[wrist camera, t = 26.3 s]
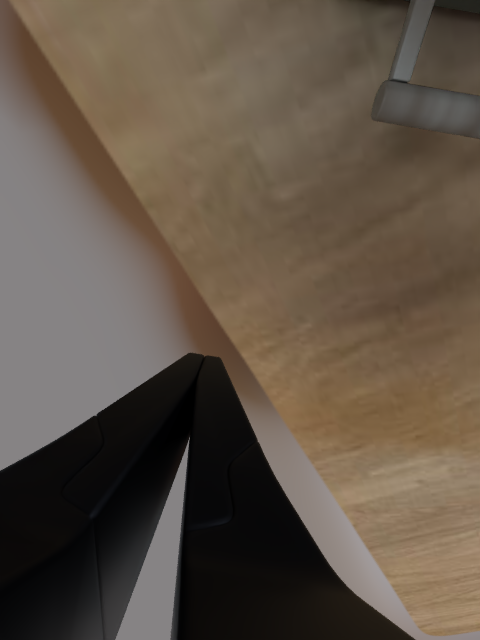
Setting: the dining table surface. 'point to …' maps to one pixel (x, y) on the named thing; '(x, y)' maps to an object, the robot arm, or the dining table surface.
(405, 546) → the dining table surface
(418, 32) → the drawer
